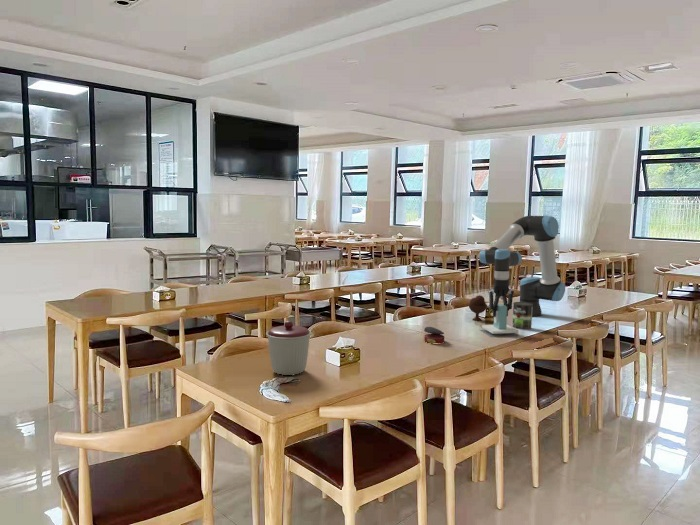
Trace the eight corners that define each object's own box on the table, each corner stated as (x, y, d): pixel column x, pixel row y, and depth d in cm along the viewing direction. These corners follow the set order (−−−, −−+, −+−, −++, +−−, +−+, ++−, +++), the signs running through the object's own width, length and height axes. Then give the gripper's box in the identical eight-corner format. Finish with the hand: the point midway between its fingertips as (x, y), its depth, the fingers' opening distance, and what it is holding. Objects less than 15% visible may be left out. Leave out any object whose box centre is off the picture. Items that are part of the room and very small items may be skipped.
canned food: (423, 350, 260) (417, 331, 263) (440, 346, 264) (434, 327, 267) (433, 345, 250) (427, 325, 253) (451, 341, 254) (444, 321, 257)
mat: (507, 330, 284) (507, 329, 284) (520, 337, 268) (520, 336, 268) (479, 330, 282) (479, 329, 282) (491, 338, 266) (491, 337, 266)
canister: (277, 363, 222) (277, 315, 219) (317, 367, 216) (317, 317, 214) (258, 376, 204) (257, 324, 202) (301, 381, 199) (301, 327, 197)
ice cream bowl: (484, 318, 314) (485, 293, 312) (487, 322, 303) (488, 297, 301) (466, 317, 315) (467, 293, 313) (469, 321, 304) (470, 296, 302)
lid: (506, 326, 283) (507, 302, 281) (518, 332, 269) (519, 307, 268) (482, 327, 281) (482, 303, 280) (492, 333, 267) (493, 308, 266)
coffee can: (526, 331, 281) (528, 305, 280) (509, 328, 288) (510, 303, 287) (534, 328, 289) (536, 303, 287) (517, 325, 296) (518, 301, 294)
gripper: (513, 277, 277) (512, 320, 279) (483, 278, 274) (481, 321, 277) (520, 279, 269) (518, 323, 272) (488, 280, 267) (487, 324, 270)
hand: (500, 322), depth 275 cm, fingers closed on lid, 4 cm apart
